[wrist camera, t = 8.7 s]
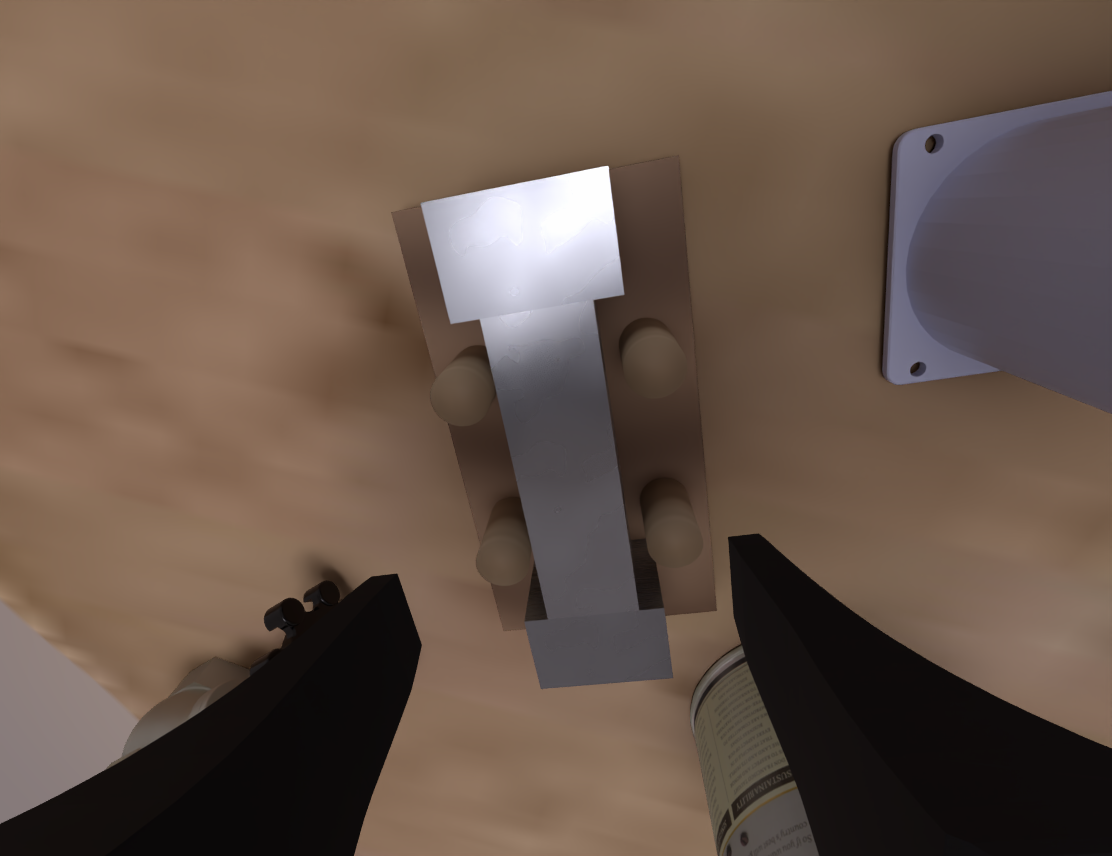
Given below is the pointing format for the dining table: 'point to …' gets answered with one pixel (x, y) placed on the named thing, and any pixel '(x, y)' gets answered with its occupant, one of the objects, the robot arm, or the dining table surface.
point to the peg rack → (635, 393)
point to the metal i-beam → (558, 414)
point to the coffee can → (745, 767)
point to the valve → (228, 670)
